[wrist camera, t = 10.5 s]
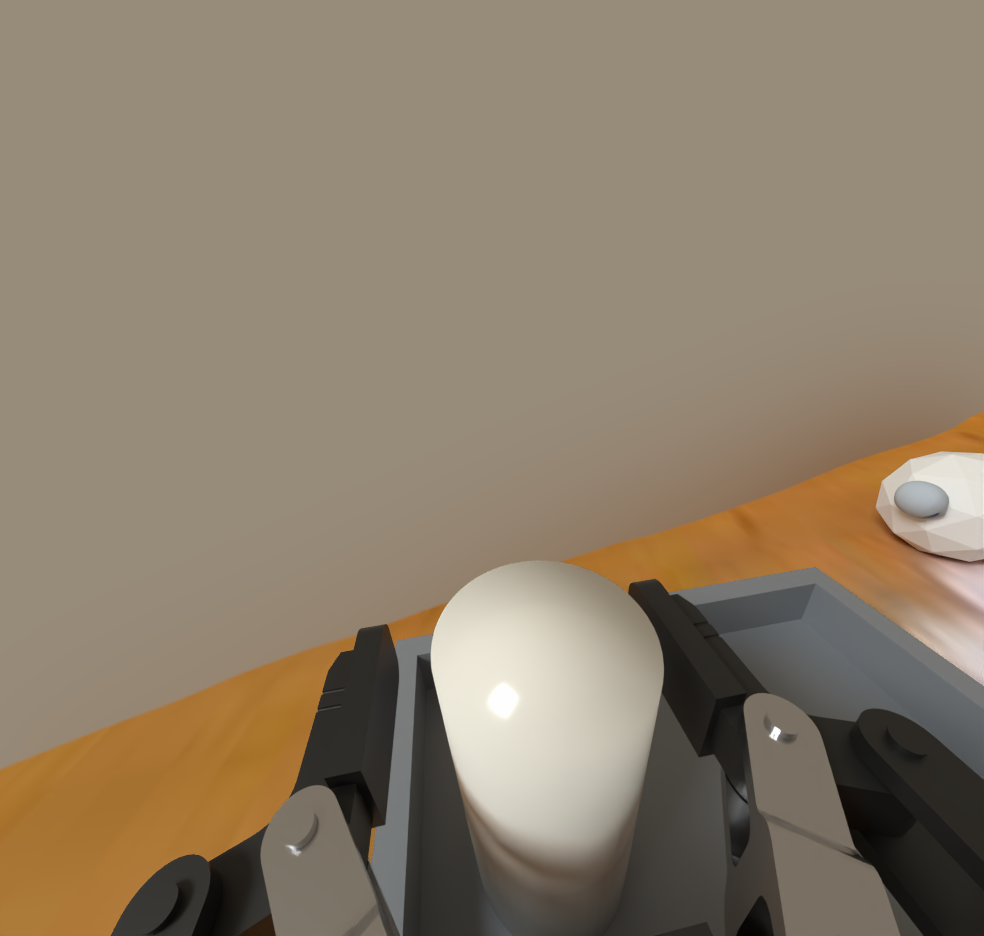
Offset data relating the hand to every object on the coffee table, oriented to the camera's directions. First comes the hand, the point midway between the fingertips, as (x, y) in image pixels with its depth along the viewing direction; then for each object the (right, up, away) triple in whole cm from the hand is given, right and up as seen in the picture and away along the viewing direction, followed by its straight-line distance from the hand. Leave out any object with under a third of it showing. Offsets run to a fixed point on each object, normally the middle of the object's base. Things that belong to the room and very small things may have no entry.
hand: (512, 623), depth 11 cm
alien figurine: (+30, -1, +14) cm, 33 cm away
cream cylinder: (+1, -8, +2) cm, 8 cm away
